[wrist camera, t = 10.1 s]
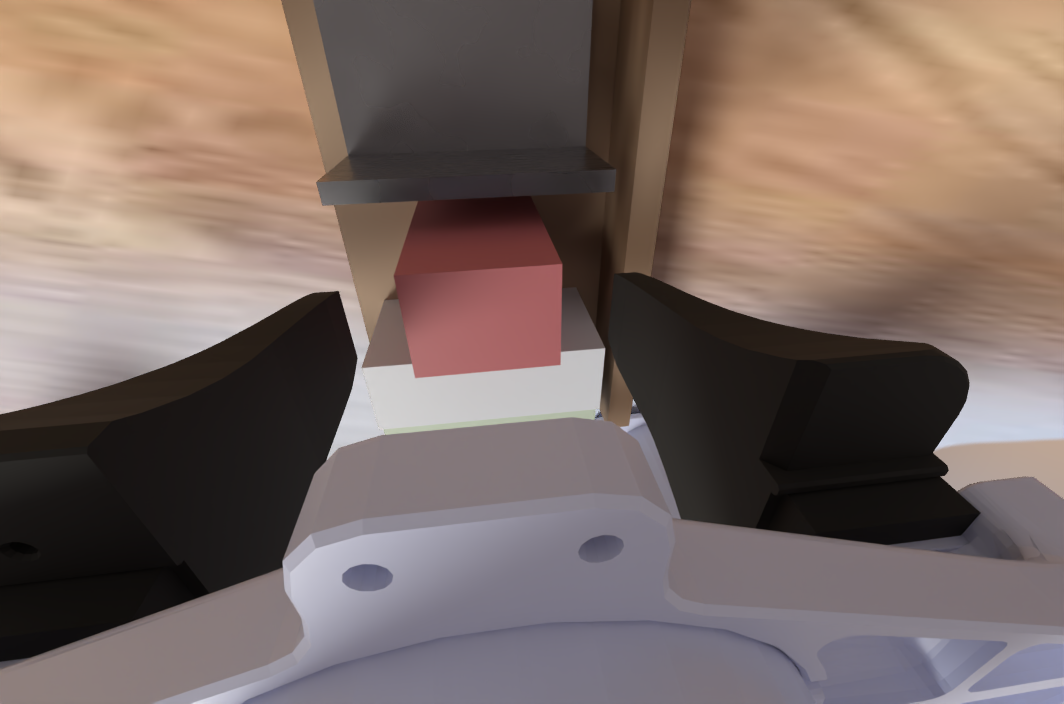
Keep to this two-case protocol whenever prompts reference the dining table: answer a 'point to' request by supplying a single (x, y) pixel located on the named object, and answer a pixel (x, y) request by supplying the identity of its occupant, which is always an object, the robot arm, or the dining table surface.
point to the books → (483, 380)
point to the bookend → (460, 99)
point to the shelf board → (570, 219)
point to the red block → (479, 287)
